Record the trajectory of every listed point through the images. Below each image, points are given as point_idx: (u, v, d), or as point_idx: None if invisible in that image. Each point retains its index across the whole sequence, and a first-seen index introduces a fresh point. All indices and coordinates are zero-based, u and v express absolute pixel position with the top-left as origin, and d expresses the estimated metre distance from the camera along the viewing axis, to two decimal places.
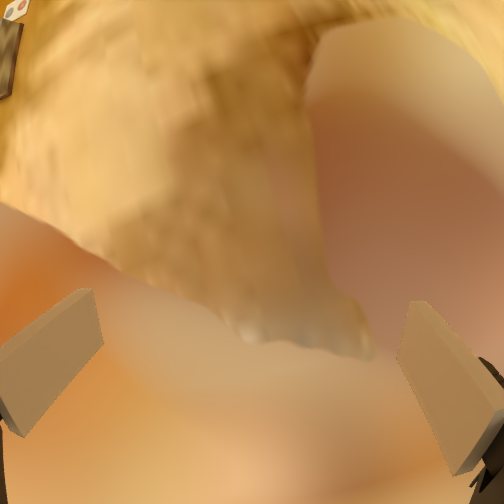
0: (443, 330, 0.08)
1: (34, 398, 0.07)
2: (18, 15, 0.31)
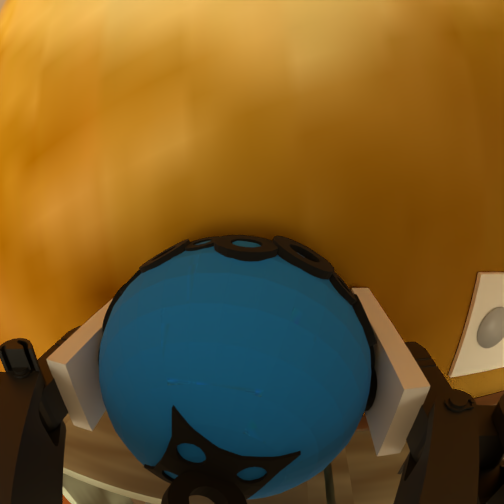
0: (375, 314, 0.10)
1: None
2: None
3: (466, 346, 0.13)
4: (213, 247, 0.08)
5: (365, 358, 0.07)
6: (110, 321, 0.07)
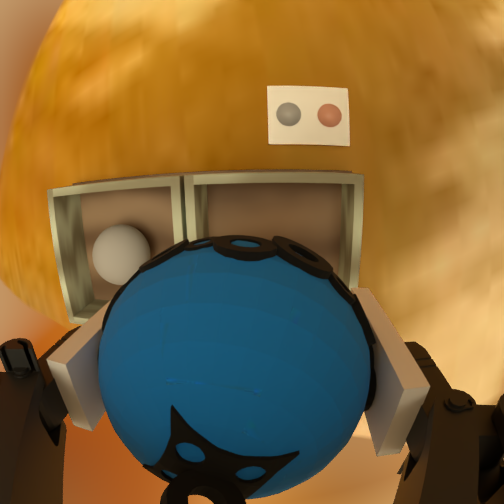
0: (375, 314, 0.10)
1: None
2: (327, 139, 0.28)
3: (271, 124, 0.28)
4: (212, 247, 0.08)
5: (364, 358, 0.07)
6: (109, 321, 0.07)
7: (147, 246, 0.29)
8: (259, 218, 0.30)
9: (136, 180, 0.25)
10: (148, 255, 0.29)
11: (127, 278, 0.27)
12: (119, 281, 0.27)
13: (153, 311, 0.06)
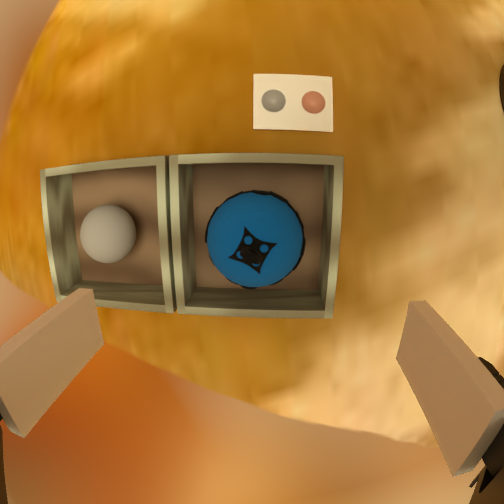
0: (443, 330, 0.08)
1: (34, 398, 0.07)
2: (310, 125, 0.29)
3: (257, 110, 0.29)
4: (252, 192, 0.26)
5: (297, 226, 0.25)
6: (218, 213, 0.25)
7: (133, 225, 0.29)
8: None
9: (124, 160, 0.25)
10: (133, 234, 0.29)
11: (112, 255, 0.28)
12: (104, 259, 0.28)
13: (238, 205, 0.24)
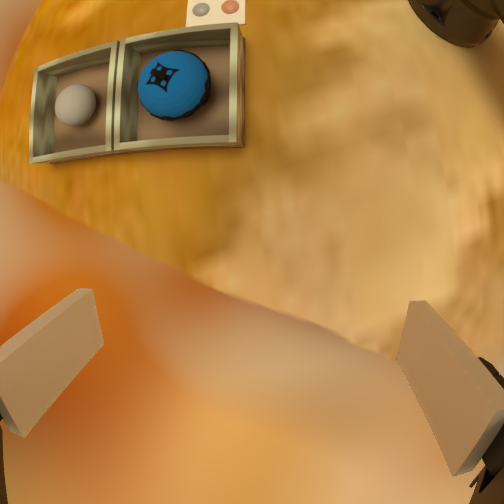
0: (443, 330, 0.08)
1: (34, 398, 0.07)
2: (227, 21, 0.32)
3: (189, 16, 0.32)
4: None
5: (201, 66, 0.29)
6: None
7: (93, 96, 0.33)
8: None
9: (91, 48, 0.29)
10: (93, 101, 0.33)
11: (74, 113, 0.32)
12: (68, 117, 0.32)
13: (158, 55, 0.28)
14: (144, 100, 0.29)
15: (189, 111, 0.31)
